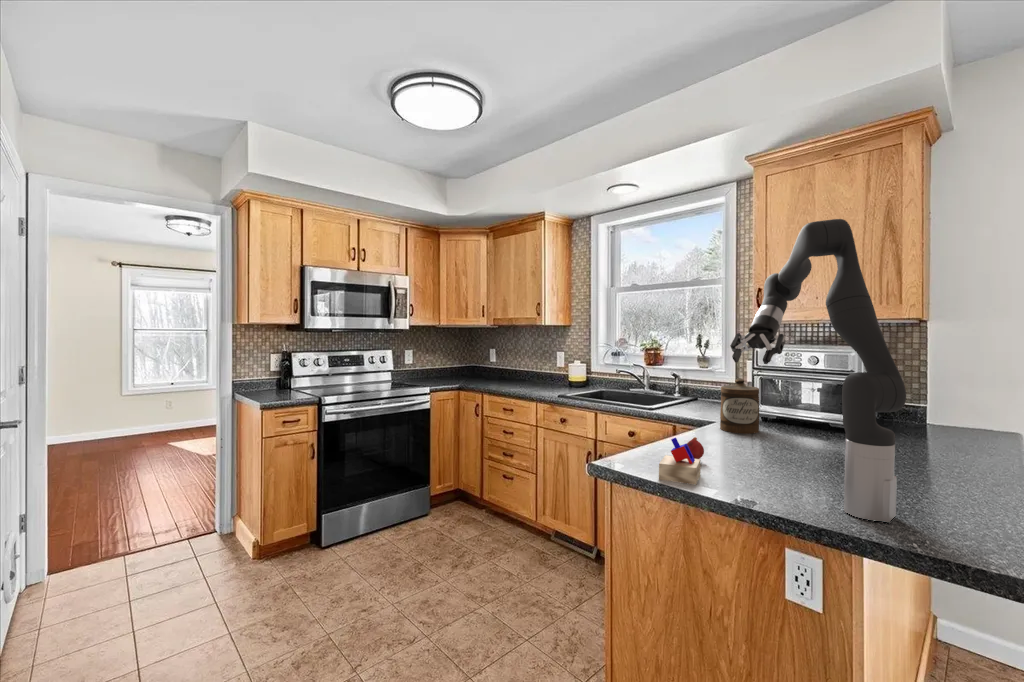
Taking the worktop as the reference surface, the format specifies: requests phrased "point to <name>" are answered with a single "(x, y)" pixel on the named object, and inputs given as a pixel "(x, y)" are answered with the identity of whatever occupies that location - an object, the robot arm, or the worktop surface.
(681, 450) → the toy building block
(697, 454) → the onion
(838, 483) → the worktop surface
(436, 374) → the worktop surface
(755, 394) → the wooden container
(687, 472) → the maple block
